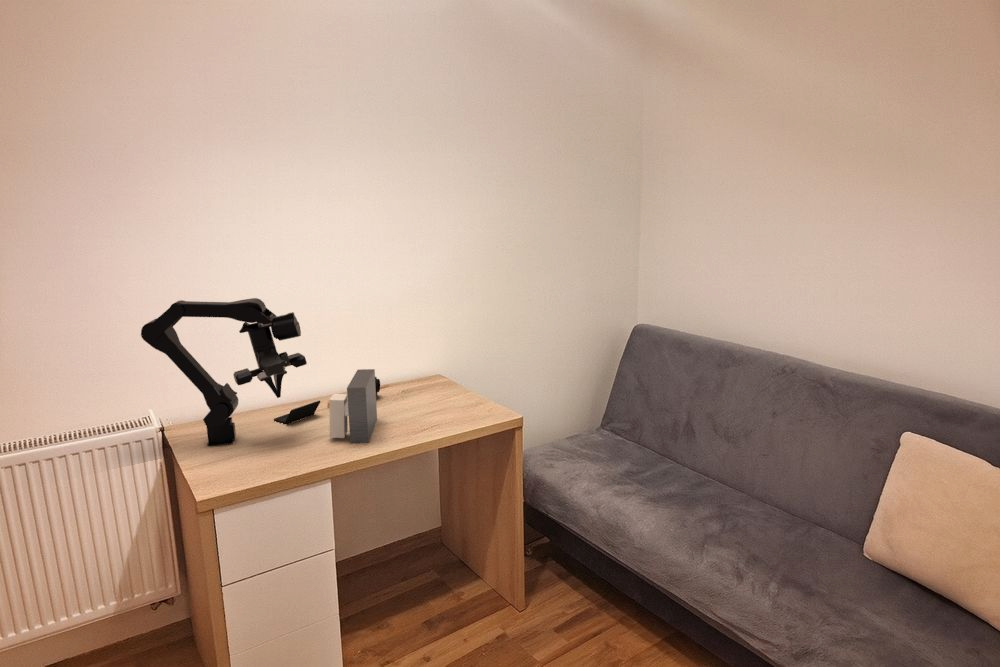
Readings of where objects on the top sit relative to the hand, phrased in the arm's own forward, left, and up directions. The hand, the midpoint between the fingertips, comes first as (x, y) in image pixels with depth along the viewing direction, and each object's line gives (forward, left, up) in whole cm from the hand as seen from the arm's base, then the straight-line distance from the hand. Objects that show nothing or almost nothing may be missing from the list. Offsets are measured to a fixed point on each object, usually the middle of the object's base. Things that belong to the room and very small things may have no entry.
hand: (278, 397), depth 181 cm
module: (+15, -5, -11) cm, 19 cm away
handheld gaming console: (+4, +15, -12) cm, 20 cm away
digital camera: (+26, +26, -12) cm, 39 cm away
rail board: (+22, -1, -12) cm, 25 cm away
